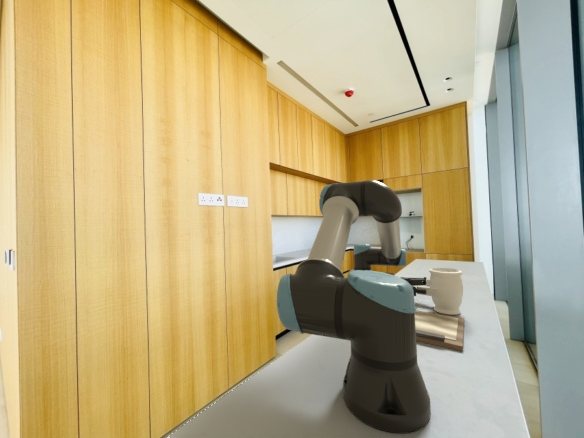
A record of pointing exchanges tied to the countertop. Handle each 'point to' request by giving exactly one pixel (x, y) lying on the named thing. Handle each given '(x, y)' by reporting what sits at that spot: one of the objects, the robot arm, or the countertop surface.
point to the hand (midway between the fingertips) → (441, 288)
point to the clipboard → (439, 329)
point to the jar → (447, 290)
